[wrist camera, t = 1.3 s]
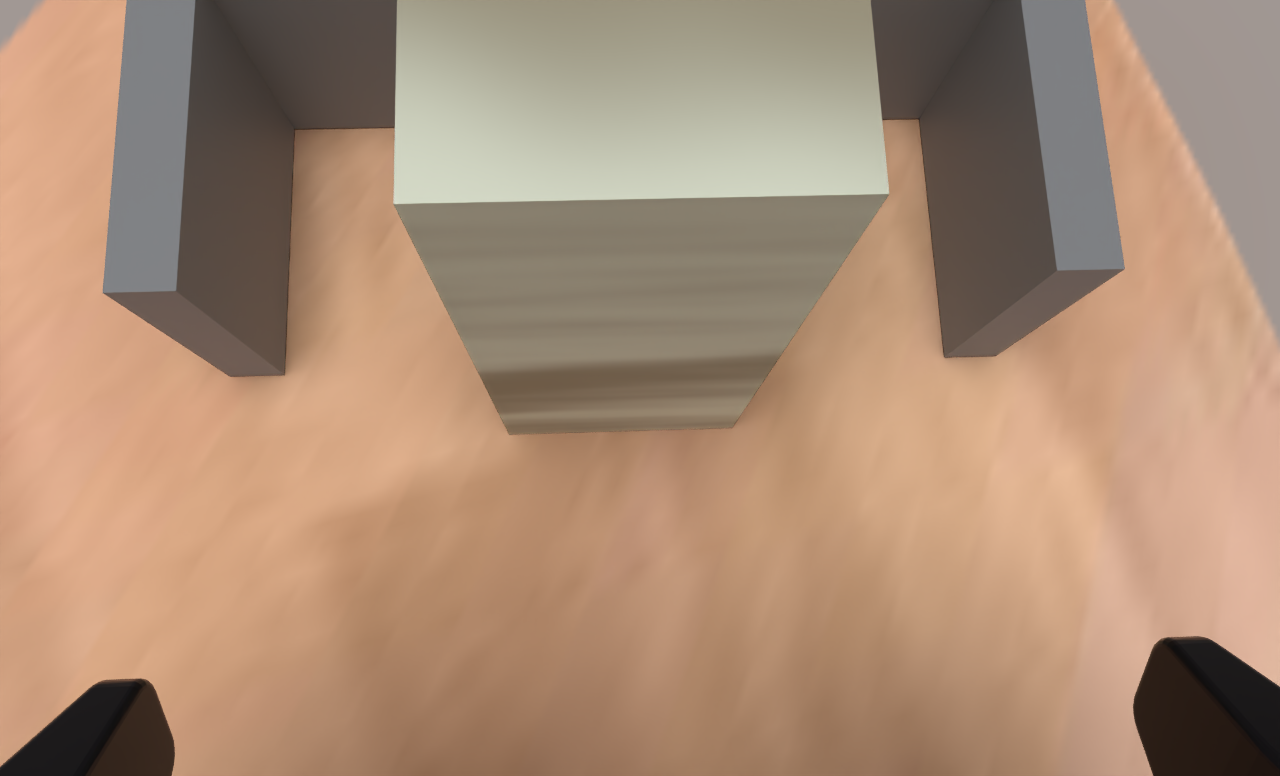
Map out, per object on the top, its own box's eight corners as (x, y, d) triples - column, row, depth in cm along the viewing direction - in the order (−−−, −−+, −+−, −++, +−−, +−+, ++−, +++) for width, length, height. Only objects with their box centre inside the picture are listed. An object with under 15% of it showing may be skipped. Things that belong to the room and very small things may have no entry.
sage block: (731, 427, 23) (888, 193, 10) (509, 434, 23) (393, 203, 10) (720, 219, 24) (848, -222, 12) (507, 223, 24) (400, -220, 11)
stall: (996, 355, 24) (1124, 268, 18) (229, 376, 23) (103, 292, 17) (962, 73, 25) (1071, -93, 19) (245, 83, 24) (133, -85, 19)
